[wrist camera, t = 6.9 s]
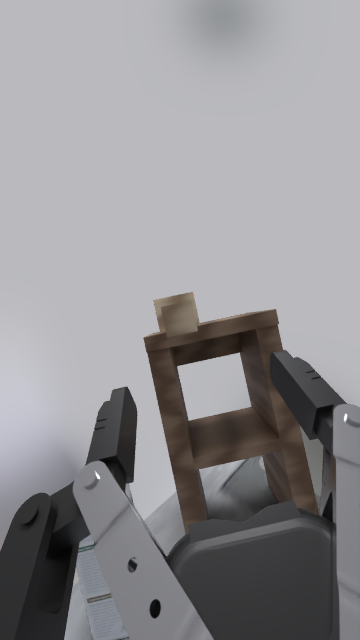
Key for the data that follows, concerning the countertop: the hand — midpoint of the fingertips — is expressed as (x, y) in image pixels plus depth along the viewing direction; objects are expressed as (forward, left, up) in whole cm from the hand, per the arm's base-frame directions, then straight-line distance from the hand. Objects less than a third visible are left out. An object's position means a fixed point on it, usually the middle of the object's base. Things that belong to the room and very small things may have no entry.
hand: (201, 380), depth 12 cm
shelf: (+19, +13, -30) cm, 37 cm away
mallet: (+10, +11, +2) cm, 15 cm away
